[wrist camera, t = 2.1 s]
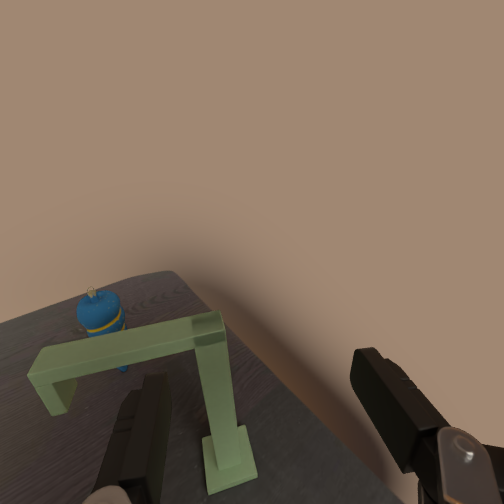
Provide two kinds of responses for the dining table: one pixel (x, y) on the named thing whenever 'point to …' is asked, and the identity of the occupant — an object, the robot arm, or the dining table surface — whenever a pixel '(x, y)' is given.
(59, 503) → the dining table surface
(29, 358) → the dining table surface
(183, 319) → the hook
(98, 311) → the ornament
